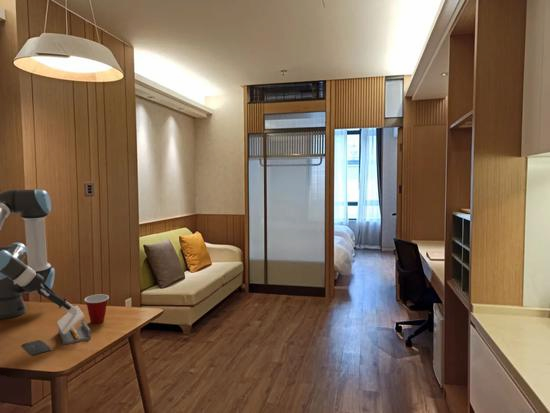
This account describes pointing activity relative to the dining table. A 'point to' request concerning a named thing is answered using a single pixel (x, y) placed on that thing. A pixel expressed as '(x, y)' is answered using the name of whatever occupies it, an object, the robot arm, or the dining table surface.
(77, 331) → the cable duct
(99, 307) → the plastic cup
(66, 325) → the block
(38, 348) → the smartphone
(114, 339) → the dining table surface
